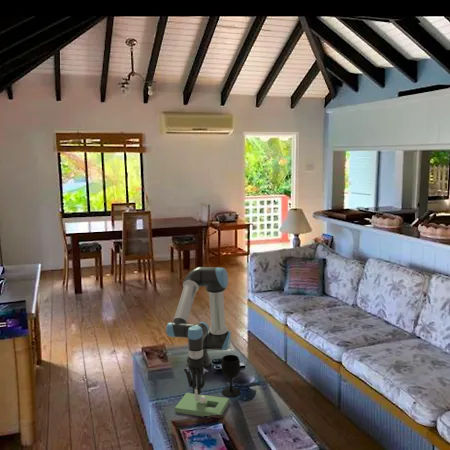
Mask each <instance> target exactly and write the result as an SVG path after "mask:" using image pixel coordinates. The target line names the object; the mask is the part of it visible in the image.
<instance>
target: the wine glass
mask: <svg viewBox="0 0 450 450" xmlns="http://www.w3.org/2000/svg"><path fill="white" fill-rule="evenodd" d="M220 367H221V368H220V369H221V372H222V374H223V376H224V377H225V378H227V379H229V387H225V388H224V389H222V390H221V394H222V395H223V396H224V397H225V398H226V397H227V398H235V397H238V396H240V395H241V390H240V389H239V388H237V387H234V386H233V379H234V378H236V377H237V376H238V375H239V373H240V371H241V362H240V358H239V356H238V355H235V354H226V355H224V356H223V357H222V359H221V364H220Z"/></svg>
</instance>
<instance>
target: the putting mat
mask: <svg viewBox="0 0 450 450" xmlns="http://www.w3.org/2000/svg"><path fill="white" fill-rule="evenodd" d="M200 396H205V397H206V403H204V404H201V403H200V402H199V400H198V401H195V394H193V392H192V393H191V392H186V393H185V394H184V395H183V397H182V398H181V399H180V401H179V402H178V403H177V404H176V406H175V407H174V413H178V414H183V415H190V416H191V415H192V416H197V417H204V416H210V415H222V416H223V415H224V413H225V411H226V409H227V408H228V405H229V404H230V397H227V398H226V397H221V396H215V395H213V396H212V395H207V394H206V395H205V394H200V395H199V397H200Z"/></svg>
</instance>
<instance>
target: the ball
mask: <svg viewBox="0 0 450 450" xmlns="http://www.w3.org/2000/svg"><path fill="white" fill-rule="evenodd" d="M199 402H200V403H201V404H204V403H206V397H205V396H200V397H199Z"/></svg>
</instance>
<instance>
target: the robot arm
mask: <svg viewBox="0 0 450 450" xmlns="http://www.w3.org/2000/svg"><path fill="white" fill-rule="evenodd" d="M228 285H229V274H228V271H227V270H226V268H225V267H219V266H217V267H215V266H214V267H213V266H198V267H195V268H194V269H192V270H191V271H190V272H188V273H187V275H186V276H185V278H184V279H183V283H182V287H183V288H182V291H181V295H180V299H179V301H178V304H177V308H176V310H175V314H174V317H173V321H172V322H168V323H167V325H166V328H165V331H166V335H167V337H171V338H186V339H187V342H188V343H187V345H188V348H187V349H188V354H187V357H186V361H185V363H186V366H187V367H185V368H184V370H183V371H184V372H185V374H186V378H187V383H188V386H189V387H190V388H192V394H195V401H198V400H199V395H201V393H202V390H201V389H203V388H204V387H205V383H206V379H207V375H208V372H209V371H210V370H209V369H206V368H207V367H209V366H210V365H211V357H210V355H209V352H208V350H213V351H214V350H215V351H227V350H229V348H230V345H231V340H232V331H231V330H229V329H228V326H227V325H226V317H225V315H226V312H225V299H224V298H225V297H224V292H225V291H226V289H227V287H229V286H228ZM200 287H204V288H205V290H206V292H207V293H208V296H209V297H208V298H209V309H210V310H209V311H210V312H209V313H210V327H209V324H208V323H206V322H205V321H200V322H198V323H188V321H189V318H190V317H189V316H190V315H191V314H190V313H191V309H192V306H193V303H194V299H195V295H196V292H198V291H199V289H200ZM202 372H203V375H202ZM201 377H202V378H201Z"/></svg>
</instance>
